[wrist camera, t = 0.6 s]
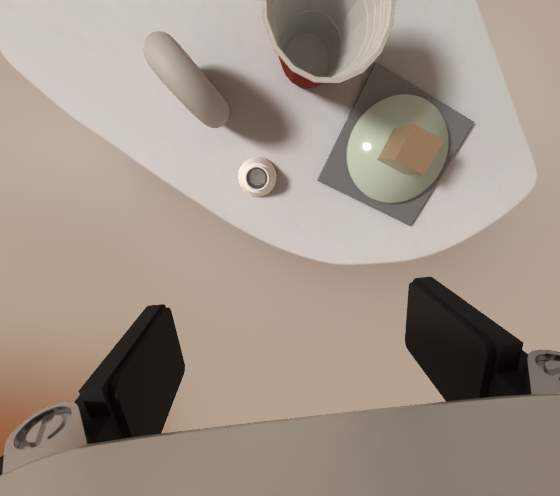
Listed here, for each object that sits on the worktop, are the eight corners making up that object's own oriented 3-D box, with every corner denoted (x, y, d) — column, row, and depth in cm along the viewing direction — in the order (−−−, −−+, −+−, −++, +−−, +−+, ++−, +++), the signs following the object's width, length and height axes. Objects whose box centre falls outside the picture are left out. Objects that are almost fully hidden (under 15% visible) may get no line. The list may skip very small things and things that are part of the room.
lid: (378, 75, 32) (402, 57, 27) (463, 126, 35) (502, 119, 29) (328, 177, 36) (340, 180, 30) (408, 216, 38) (433, 226, 32)
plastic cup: (368, 74, 33) (423, 27, 21) (294, 128, 34) (309, 111, 23) (322, -20, 30) (358, -134, 18) (243, 43, 31) (231, -25, 20)
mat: (374, 64, 32) (375, 63, 32) (470, 122, 35) (474, 122, 34) (317, 180, 36) (318, 180, 36) (408, 224, 39) (410, 225, 38)
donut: (159, 69, 31) (114, 30, 22) (179, 47, 31) (141, -4, 21) (221, 138, 34) (203, 130, 25) (240, 119, 34) (230, 102, 24)
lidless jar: (238, 156, 35) (238, 194, 37) (236, 155, 32) (236, 197, 34) (277, 158, 35) (275, 196, 37) (278, 158, 33) (276, 199, 34)
